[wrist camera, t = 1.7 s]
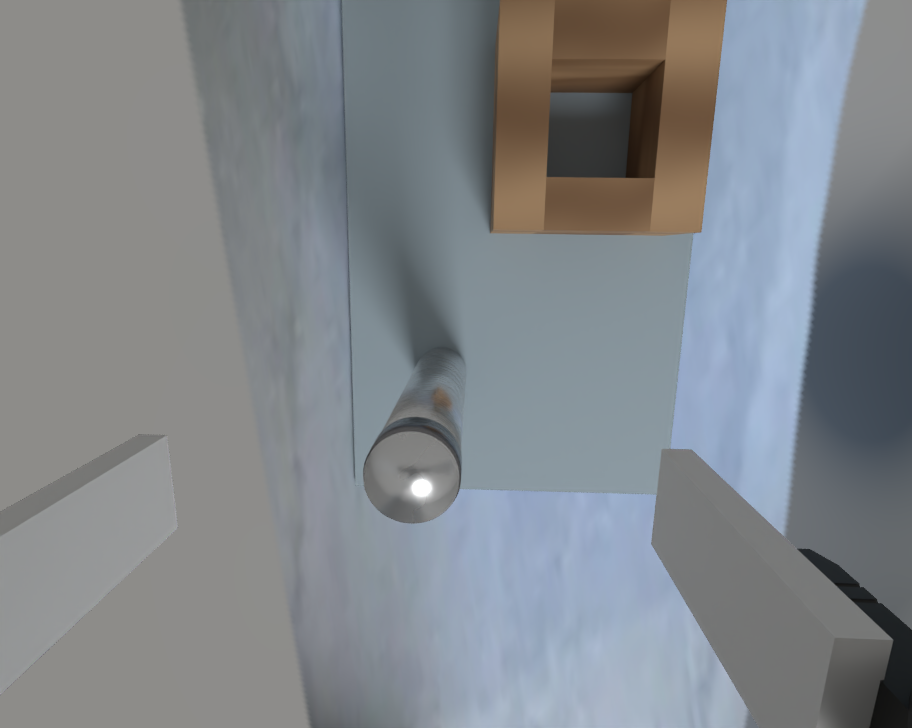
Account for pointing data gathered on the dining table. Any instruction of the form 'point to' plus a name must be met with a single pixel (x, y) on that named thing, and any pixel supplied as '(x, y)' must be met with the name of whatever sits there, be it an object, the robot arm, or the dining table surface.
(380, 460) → the metal cylinder rod
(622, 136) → the mat
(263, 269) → the dining table surface
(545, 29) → the wooden block with hole
